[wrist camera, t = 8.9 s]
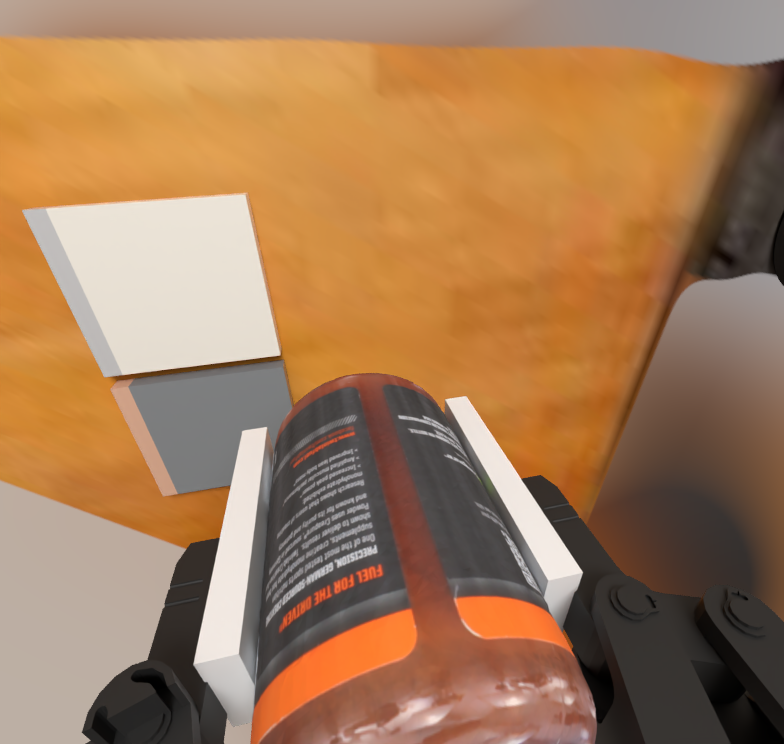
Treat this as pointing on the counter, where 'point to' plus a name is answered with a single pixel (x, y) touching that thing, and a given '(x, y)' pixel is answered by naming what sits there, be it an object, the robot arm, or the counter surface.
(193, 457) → the grey square coaster
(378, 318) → the counter surface
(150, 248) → the cream square tile
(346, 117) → the counter surface
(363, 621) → the supplement bottle
